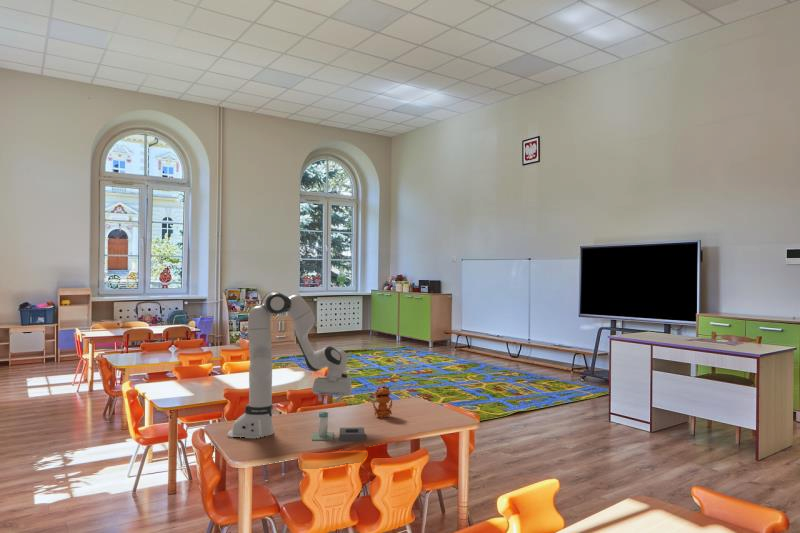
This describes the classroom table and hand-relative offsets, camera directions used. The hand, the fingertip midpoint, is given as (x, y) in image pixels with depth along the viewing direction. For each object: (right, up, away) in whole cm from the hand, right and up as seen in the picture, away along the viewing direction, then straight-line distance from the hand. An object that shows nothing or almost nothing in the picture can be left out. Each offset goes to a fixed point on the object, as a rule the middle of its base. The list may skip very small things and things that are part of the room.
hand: (328, 401), depth 275 cm
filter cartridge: (-2, -15, -9) cm, 17 cm away
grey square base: (+12, -16, -8) cm, 22 cm away
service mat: (-2, -16, -9) cm, 19 cm away
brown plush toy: (+26, -18, +35) cm, 47 cm away
